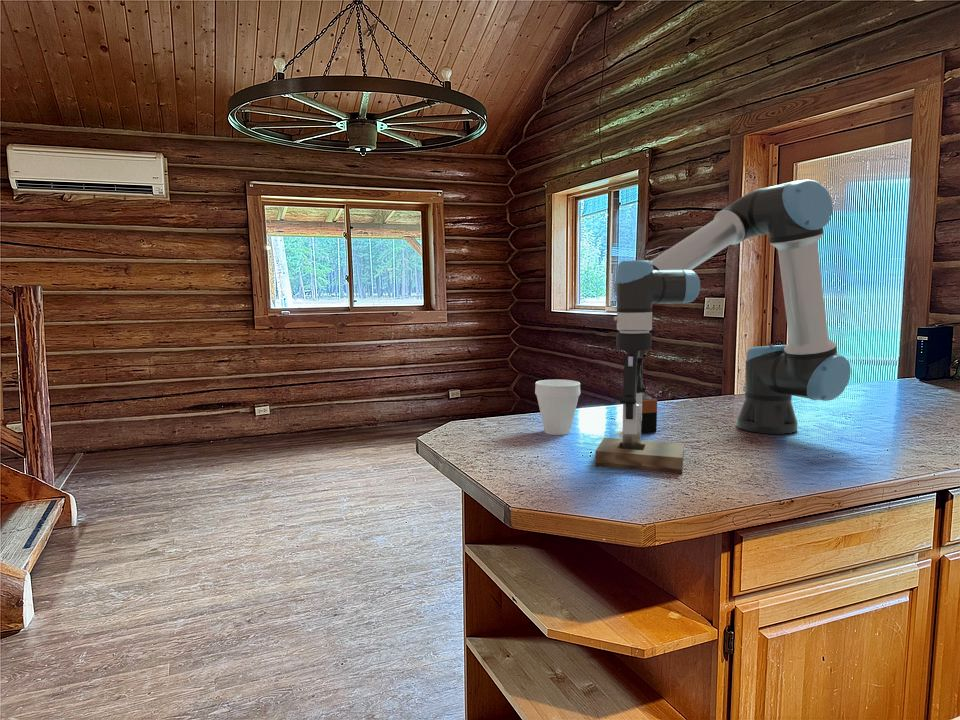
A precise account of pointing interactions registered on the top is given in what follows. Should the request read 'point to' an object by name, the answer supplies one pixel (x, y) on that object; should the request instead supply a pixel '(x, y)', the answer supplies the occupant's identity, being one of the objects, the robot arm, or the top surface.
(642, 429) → the battery
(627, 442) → the pin
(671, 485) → the top surface
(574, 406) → the cup
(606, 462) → the bore block
